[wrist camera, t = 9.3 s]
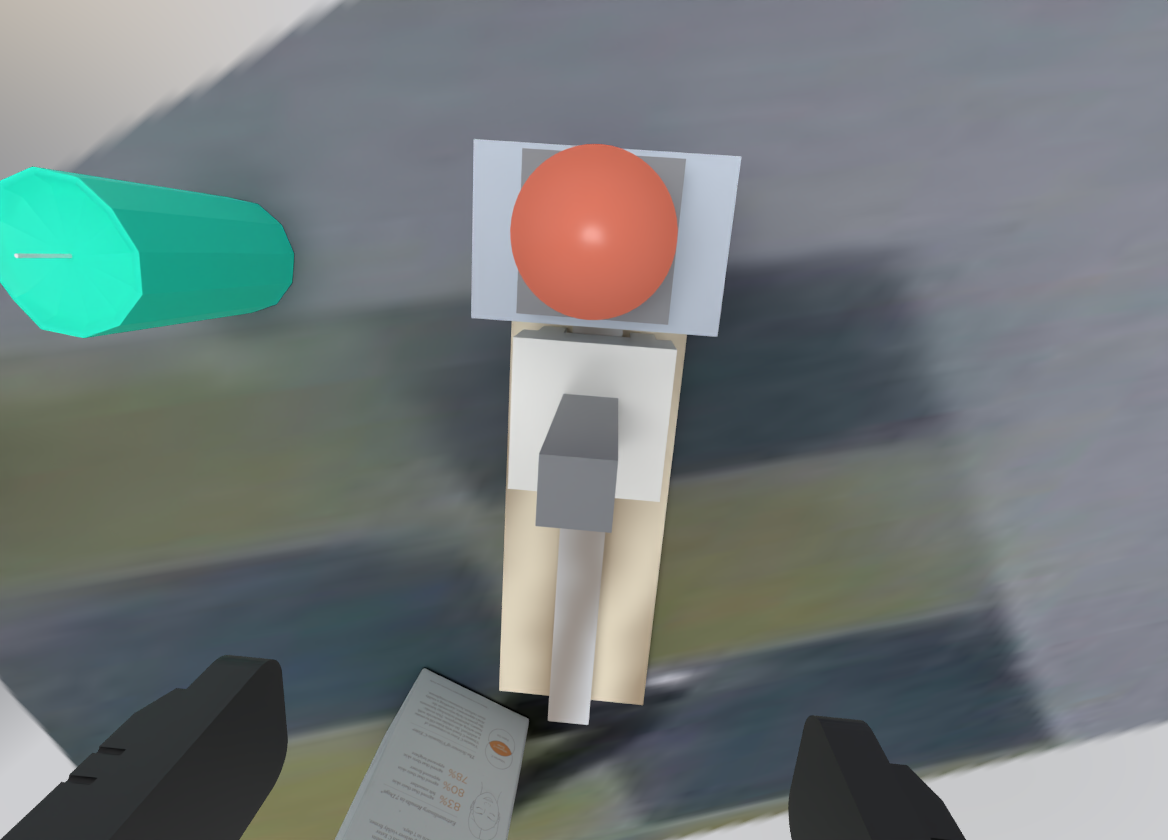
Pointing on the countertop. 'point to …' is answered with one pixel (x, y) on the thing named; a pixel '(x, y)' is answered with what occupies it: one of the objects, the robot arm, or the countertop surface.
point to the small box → (441, 769)
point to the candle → (134, 253)
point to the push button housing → (692, 279)
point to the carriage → (588, 422)
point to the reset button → (593, 232)
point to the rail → (617, 578)
